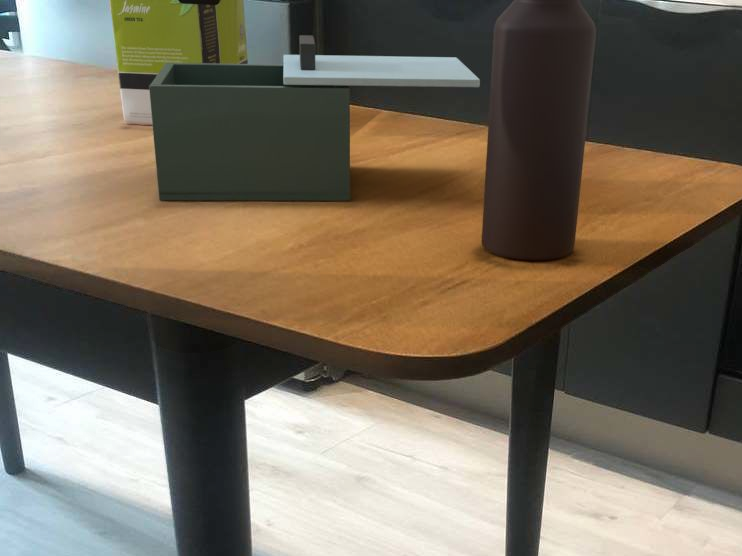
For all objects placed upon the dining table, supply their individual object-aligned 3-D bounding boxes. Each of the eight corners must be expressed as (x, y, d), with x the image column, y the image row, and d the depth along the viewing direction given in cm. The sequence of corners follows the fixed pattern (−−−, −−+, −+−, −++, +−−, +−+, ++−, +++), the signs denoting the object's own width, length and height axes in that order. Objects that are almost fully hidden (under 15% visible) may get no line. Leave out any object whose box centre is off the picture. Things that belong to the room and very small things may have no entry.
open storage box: (159, 200, 89) (148, 85, 84) (173, 164, 100) (165, 62, 96) (350, 201, 90) (349, 88, 86) (342, 165, 102) (341, 65, 97)
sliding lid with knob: (283, 84, 85) (282, 49, 84) (283, 61, 97) (282, 30, 96) (479, 87, 87) (481, 52, 85) (456, 64, 98) (457, 33, 97)
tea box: (171, 102, 130) (160, -37, 122) (252, 107, 128) (246, -33, 121) (120, 124, 117) (104, -30, 109) (209, 129, 115) (199, -26, 108)
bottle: (582, 263, 76) (616, -59, 66) (486, 262, 76) (506, -62, 66) (565, 237, 82) (594, -62, 72) (476, 235, 82) (493, -65, 72)
